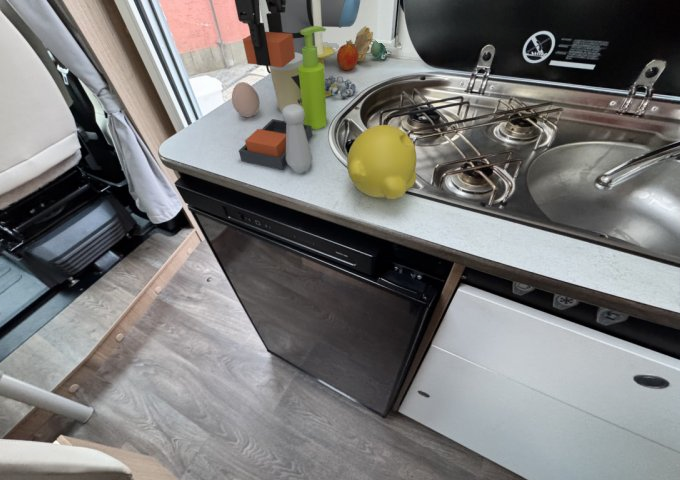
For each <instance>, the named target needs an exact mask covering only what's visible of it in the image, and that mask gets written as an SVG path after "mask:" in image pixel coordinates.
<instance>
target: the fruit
mask: <svg viewBox="0 0 680 480" xmlns="http://www.w3.org/2000/svg"><path fill="white" fill-rule="evenodd" d="M347 41H348V40H346V43H347ZM336 62H337V65H338V67H340V68H341V69H342V70H343V71H345V72H347V71H351V70H353V69H354V68H355V67H356V66H357V64H358V62H359V61H358V51H357V49H356V47H355V46H354V45H352V44H348V43H347V44H343V45H341V46H340V47H339V48H338V50H337V54H336Z"/></svg>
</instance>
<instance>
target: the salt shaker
mask: <svg viewBox="0 0 680 480" xmlns="http://www.w3.org/2000/svg"><path fill="white" fill-rule="evenodd" d="M281 116H282V119H283V120H282V121H284V122H286V161H287V164H288V165H287V166H289V167H290V169H291V170H292V171H293V172H294V173H299V174H303V173H305V172H307V171H309V170H310V168H311V164H312V162H313V154H312V150H311V147H310V144H309V140H307V137H306V133H305V129H304V126H303V124H304V118H305V113H304V109H303V107H301V106H300V105H297V104H291V105H287V106H286V107H284V109H283V110H282V111H281Z"/></svg>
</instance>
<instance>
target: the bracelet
mask: <svg viewBox="0 0 680 480" xmlns="http://www.w3.org/2000/svg"><path fill="white" fill-rule="evenodd" d="M324 82H325V90H326V91H331V93H332V95H331V96H337V95H340V96H341V97H342V98H345V97H347V95H348V96H353V95H354V94H355V91H356V89H357V86H356V84H355V83H352V80H351V79H344V78H343V76H342V75H341V76H338V77H334V76H333V75H330V76H329V77H328V78H325V80H324ZM335 83H337V84H338V85H342V84H344V86H345V87H346V88H348V89H346V88H342V89H340V90H339V89H337V88H338V87H337V88H336V87H334V88H332V87H331V85H330V84H335Z"/></svg>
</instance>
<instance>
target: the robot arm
mask: <svg viewBox="0 0 680 480" xmlns="http://www.w3.org/2000/svg"><path fill="white" fill-rule="evenodd" d="M265 4H266V7H267V11H268V13H265V14H266V16H265V17H266V21H267V28H268V32H276V33H289V34H293V43H294V52H296V53H300V54H302V48H303V47H304V46H305V36H304V35H302V34H301V33H300V30H303V29H305V28H308V27H312V26H314V22H313V7H312V0H265ZM234 5H235V9H236V14H237V19H238V21H239V22H240V23H241V22H242V24H244V25H245V24H247V27H248V29H249V34H250V35H251V39H252V44H253V47H254V52H255V57H256V61H257V65H256V66H263V67H264V66H265V67H269V66H270V65H271V63H270V57H269V52H268V46H267V39H266V33H265V32H266V27H265V23H264V22H261V10H260V0H234ZM360 5H361V0H321V21H322V27H323V28H339V29H341V28H349V27H352V26H354V25H355V22H356V21H357V18H358V13H359V10H360ZM250 35H249V36H250ZM312 37H313V45H314V46H315V37H314V33H312Z"/></svg>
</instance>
